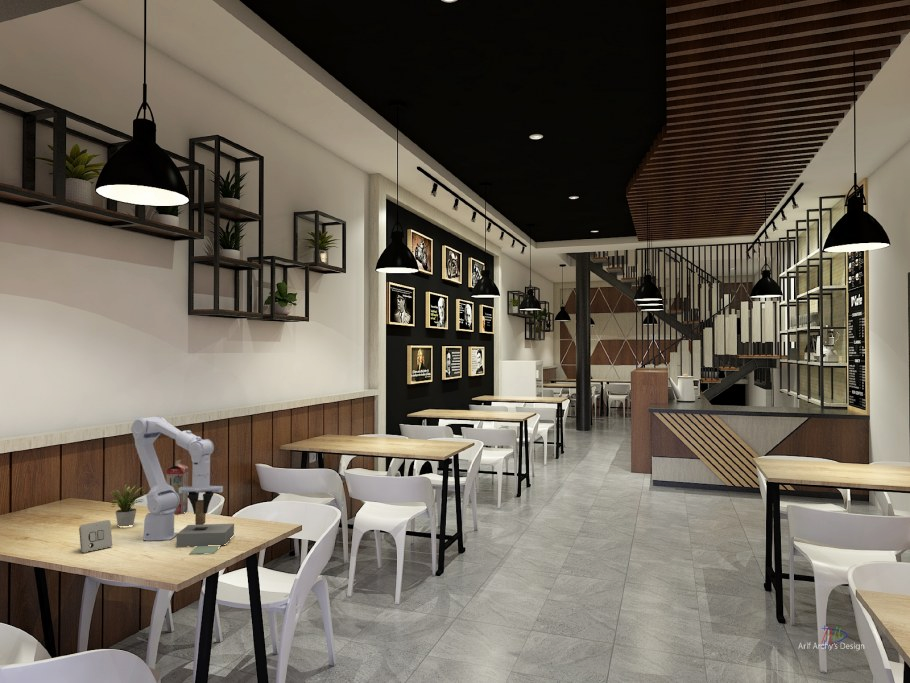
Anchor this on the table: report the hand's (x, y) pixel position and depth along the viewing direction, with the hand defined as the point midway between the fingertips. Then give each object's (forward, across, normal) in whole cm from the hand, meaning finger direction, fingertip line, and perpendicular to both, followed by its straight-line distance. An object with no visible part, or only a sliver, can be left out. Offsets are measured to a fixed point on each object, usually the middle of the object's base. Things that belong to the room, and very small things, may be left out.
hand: (200, 513), depth 212 cm
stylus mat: (+10, +5, -11) cm, 16 cm away
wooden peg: (+4, 0, 0) cm, 4 cm away
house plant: (+10, -35, +23) cm, 43 cm away
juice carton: (+10, -23, +45) cm, 52 cm away
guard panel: (+10, +2, 0) cm, 10 cm away
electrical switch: (+10, -33, -5) cm, 35 cm away
